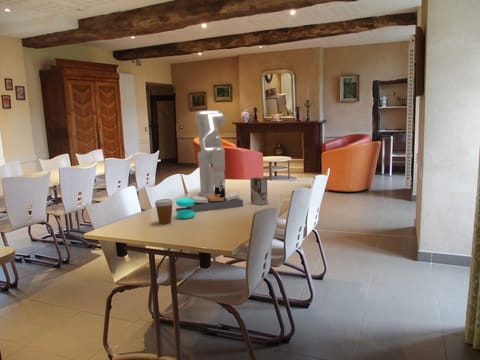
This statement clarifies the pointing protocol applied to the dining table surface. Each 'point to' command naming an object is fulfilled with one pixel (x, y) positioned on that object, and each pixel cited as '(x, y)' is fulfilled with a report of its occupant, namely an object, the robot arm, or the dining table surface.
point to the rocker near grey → (199, 199)
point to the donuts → (185, 203)
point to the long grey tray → (213, 205)
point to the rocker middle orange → (214, 198)
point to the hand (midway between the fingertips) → (219, 195)
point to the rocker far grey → (230, 196)
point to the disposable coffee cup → (164, 210)
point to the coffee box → (258, 191)
